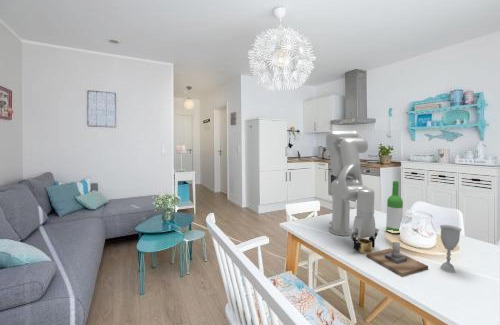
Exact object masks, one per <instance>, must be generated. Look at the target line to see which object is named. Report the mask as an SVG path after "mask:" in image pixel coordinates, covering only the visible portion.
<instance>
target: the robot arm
mask: <svg viewBox="0 0 500 325" xmlns="http://www.w3.org/2000/svg"><path fill="white" fill-rule="evenodd" d="M325 144H326V145H325V146H326V148H327V151H328V153H329V158H330V160H329V161H330V168H331V169H330V170H331V173H332V175H333V176H334V177H338V178H337V179H334V180H333V181H331V183H330V184H331V185H330V189H331V196H332V198H331V199H332V207H331V208H332V211H331V212H332V215H331V216H332V217H331V221H329V222H328V224H329V225H330V227H329V230H328V231H329V232H330V233H331V234H332V235H337V236H342V237H344V236H349V237H350V240H351V241H352V242H353V249H354V250H355V251H356V252H358V251H359V246H360V243H359V241H360V239H361V238H365V239H369V240H371V241H372V249H374V248H375V245H376V244H375V242H376V240H377V237H378V234H379V231H380V229H378V228H376V219H375V215H374V214H375V190H374V189H372V188H369V187H368V186H366V185H364V183H363V178H362V171H361V160H360V154H364V153H366V152H367V151H368V149H369V143H368V141H367V139H366V137H364V136H363V135H362V134H361V133H360V132H358V131H357V130H354V129H336V130H330V131H329V132H328V133H327V134H326V137H325ZM347 177H349V178H347ZM350 201H356V216H354V219H353V224H352V225H353V227H352V229H351V228H350V218H351V216H350V215H351V214H350V210H351V206H350V205H351V203H350Z"/></svg>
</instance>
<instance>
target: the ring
mask: <svg viewBox="0 0 500 325" xmlns="http://www.w3.org/2000/svg"><path fill="white" fill-rule="evenodd" d="M359 243H360V246H359V251H357V252H358V253H360V254H362V255H363V254H364V255H366V253H371V252H373V247H372V241H371V240H369V238H361V239H360V241H359Z"/></svg>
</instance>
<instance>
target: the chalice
mask: <svg viewBox="0 0 500 325" xmlns="http://www.w3.org/2000/svg"><path fill="white" fill-rule="evenodd" d="M439 227H440V239H441V240H440V241H441V243H442V246H443V247H444V249H445V250H446V251H447V252H446V253H445V254H446V257H445V259H446V261H445V262H443V263H442V264H441V266H440V268H439V269H440V270H441V271H443V272H446V273H450V274H454V273H456V269H455V267H454V265H453V264H452V263H451V260H452V258H451V255H452V254H451V251H453V250H455V248H456V247H457V246H458V244H459V243H460V235H461V234H460V233H461V231H462V230H463V229H462V228H461V227H458V226H455V225H450V224H441V225H439Z"/></svg>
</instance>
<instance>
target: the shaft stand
mask: <svg viewBox="0 0 500 325" xmlns="http://www.w3.org/2000/svg"><path fill="white" fill-rule="evenodd" d="M400 249H401V243H400V242H399V241H398V242H397V241H393V242H392V248H385V249H381V250H377V251H376V250H375V251H372V252H371V253H366V254H365V255H366V258H368V259H370V260H372V261H373V262H375V263H377V264H379V265H380V266H381V267H384V268H386V269H388V270H389V271H391V272H393V273H394V274H396V275H398V276H400V277H407V276H409V275H414V274H417V273H420V272H423V271H427V270H429V266H428V265H426V264H425V263H423V262H421V261H419V260H416V259H414V258H412V257H410V256H408V255H406V254H404V253H401V250H400Z"/></svg>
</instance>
